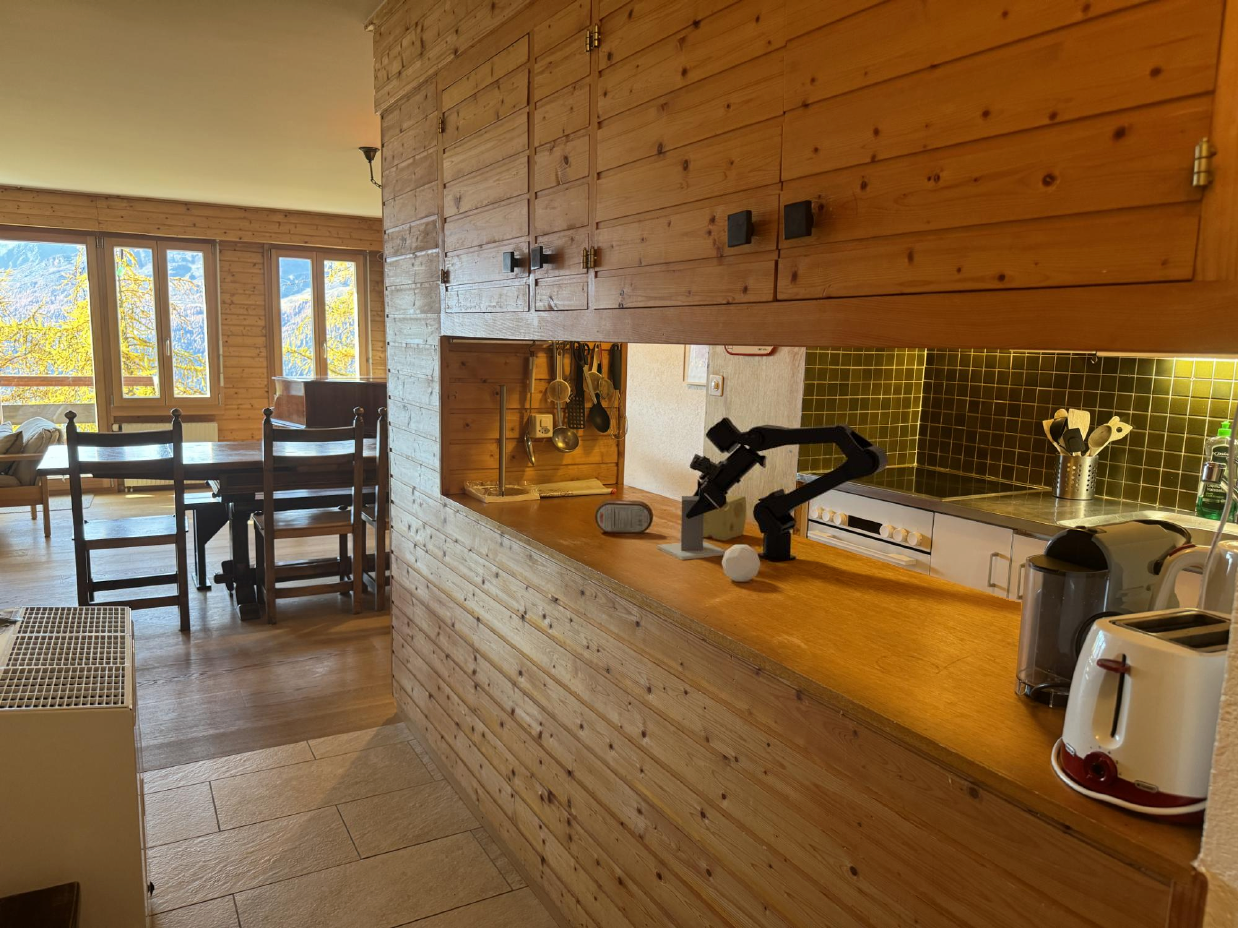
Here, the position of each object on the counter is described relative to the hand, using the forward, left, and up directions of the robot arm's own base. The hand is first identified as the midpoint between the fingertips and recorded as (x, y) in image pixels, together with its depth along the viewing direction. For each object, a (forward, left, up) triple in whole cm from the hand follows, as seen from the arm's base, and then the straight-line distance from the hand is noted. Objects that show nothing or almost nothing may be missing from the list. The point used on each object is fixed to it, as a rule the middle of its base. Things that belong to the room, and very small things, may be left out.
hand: (686, 513), depth 204 cm
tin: (+24, +5, -9) cm, 26 cm away
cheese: (+12, -16, -9) cm, 22 cm away
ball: (-27, +2, -9) cm, 28 cm away
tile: (-1, -1, -9) cm, 9 cm away
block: (-1, -1, -8) cm, 8 cm away
